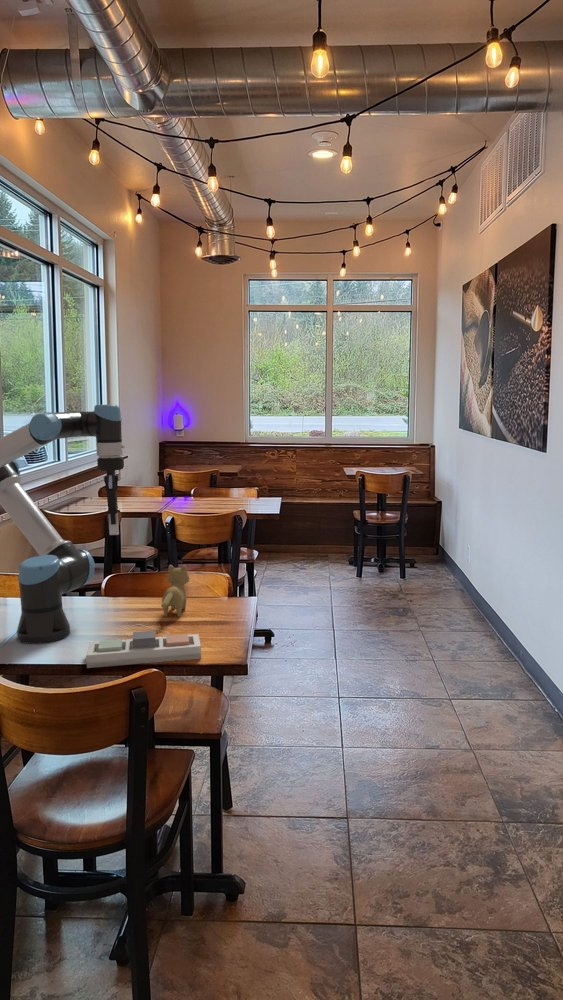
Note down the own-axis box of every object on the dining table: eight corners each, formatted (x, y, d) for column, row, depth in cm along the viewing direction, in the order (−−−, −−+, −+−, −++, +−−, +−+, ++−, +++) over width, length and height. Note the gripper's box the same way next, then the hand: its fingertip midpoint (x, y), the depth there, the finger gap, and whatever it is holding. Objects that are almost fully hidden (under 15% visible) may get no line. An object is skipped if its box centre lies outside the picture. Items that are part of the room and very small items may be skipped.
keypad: (86, 668, 184) (86, 655, 183) (90, 654, 193) (89, 642, 193) (201, 658, 189) (200, 646, 188) (198, 645, 199) (198, 633, 198)
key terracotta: (167, 651, 189) (166, 643, 189) (166, 643, 195) (166, 635, 194) (189, 649, 190) (189, 641, 190) (188, 642, 196) (187, 633, 196)
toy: (193, 604, 239) (191, 561, 237) (175, 627, 215) (173, 580, 213) (172, 603, 240) (170, 561, 237) (152, 627, 216) (150, 579, 213)
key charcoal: (132, 647, 187) (132, 639, 187) (133, 640, 193) (133, 632, 193) (155, 646, 188) (155, 637, 188) (155, 638, 194) (155, 630, 194)
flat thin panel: (148, 641, 203) (115, 631, 212) (148, 643, 203) (115, 633, 212) (170, 633, 210) (137, 623, 219) (170, 634, 210) (137, 625, 219)
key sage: (98, 657, 186) (98, 648, 185) (100, 649, 192) (99, 640, 191) (121, 655, 187) (121, 646, 186) (122, 647, 193) (122, 639, 192)
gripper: (122, 458, 202) (126, 537, 205) (123, 454, 215) (127, 529, 218) (95, 458, 201) (99, 539, 204) (98, 455, 213) (102, 531, 217)
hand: (114, 534), depth 211 cm, fingers closed
